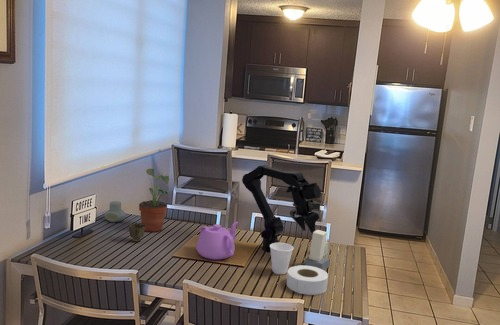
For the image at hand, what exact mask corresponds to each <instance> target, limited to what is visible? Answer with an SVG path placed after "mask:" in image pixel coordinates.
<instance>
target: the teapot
mask: <svg viewBox="0 0 500 325" xmlns="http://www.w3.org/2000/svg"><path fill="white" fill-rule="evenodd" d="M238 224H239V221H238V220H236V221H235V222H233V223H232V225H231V227H230V230H228V228H226V227H222V225H221V224H217V223H216V224H215V223H214V224H213V225H212V226H207V225H204V226H202V227H201V228H200V232H199V233H200V235H199V237H198V239H197V241H196V246H195V248H196V252H197V253H198V254H199V256H201V257H203V258H204V259H209V260H213V261H214V260H215V261H216V260H224V259H228V258H230V257H232V256H234V253H235V249H236V245H235V240H236V226H237V225H238Z"/></svg>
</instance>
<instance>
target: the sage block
mask: <svg viewBox="0 0 500 325" xmlns="http://www.w3.org/2000/svg"><path fill="white" fill-rule="evenodd" d="M328 252H329V241H326V242H325V248H324V254H323V257H325V256H327V255H328Z"/></svg>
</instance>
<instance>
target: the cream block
mask: <svg viewBox="0 0 500 325" xmlns="http://www.w3.org/2000/svg"><path fill="white" fill-rule="evenodd" d="M327 235H328V232H327V231H323V230H321V229H315V231H314V232H313V235H312V237H311V244H310V250H309V251H310V252H309V254H308V255H309V256H308V257H309V259H312V260H315V261H318V262H319V261H320V260H321V259H323V257H324V256H323V254H324V248H325V242H327Z"/></svg>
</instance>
